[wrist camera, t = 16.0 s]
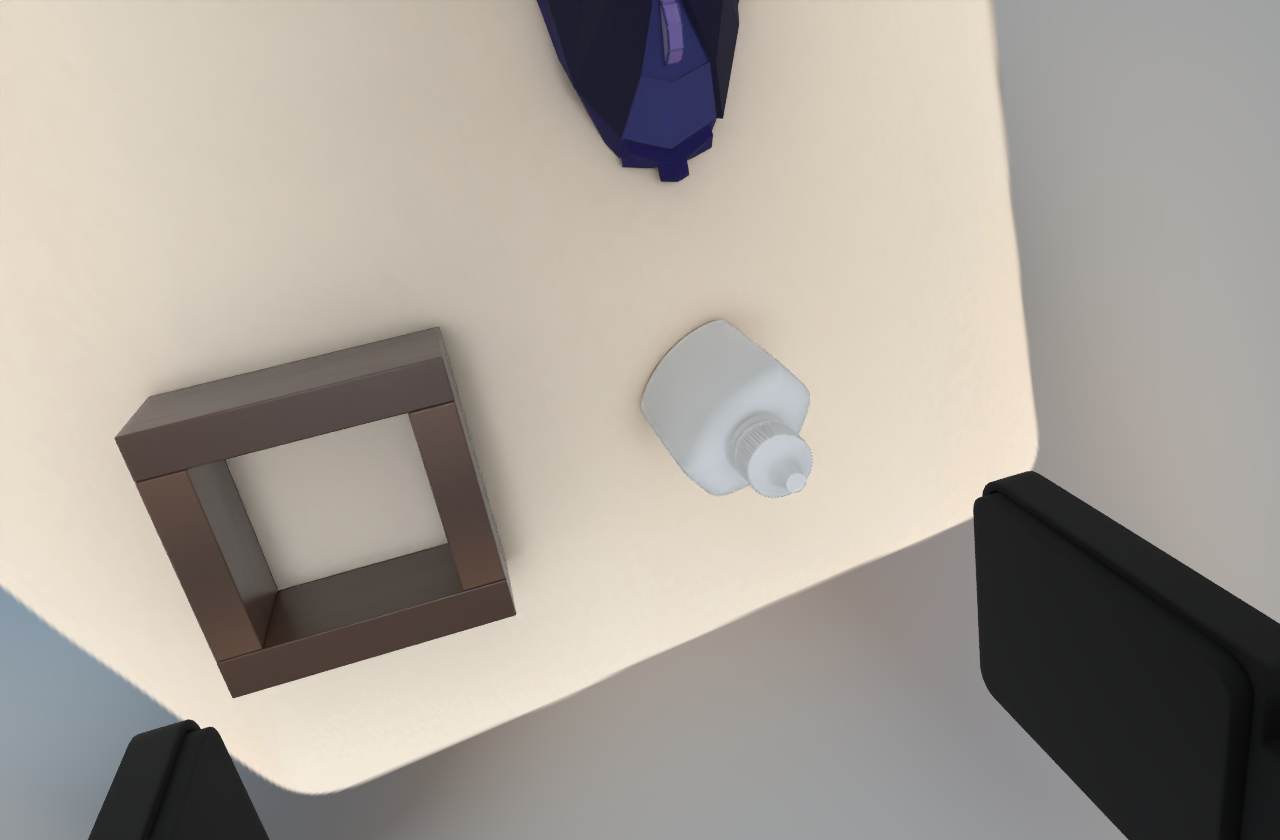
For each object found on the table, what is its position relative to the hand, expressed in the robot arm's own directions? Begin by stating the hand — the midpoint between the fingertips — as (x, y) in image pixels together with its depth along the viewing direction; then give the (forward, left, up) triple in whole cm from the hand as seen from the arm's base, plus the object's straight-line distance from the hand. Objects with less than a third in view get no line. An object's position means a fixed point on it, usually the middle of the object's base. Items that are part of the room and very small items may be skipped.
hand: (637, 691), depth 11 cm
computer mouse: (-9, +9, -28) cm, 31 cm away
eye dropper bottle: (+7, +8, -28) cm, 30 cm away
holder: (+8, -8, -28) cm, 30 cm away
